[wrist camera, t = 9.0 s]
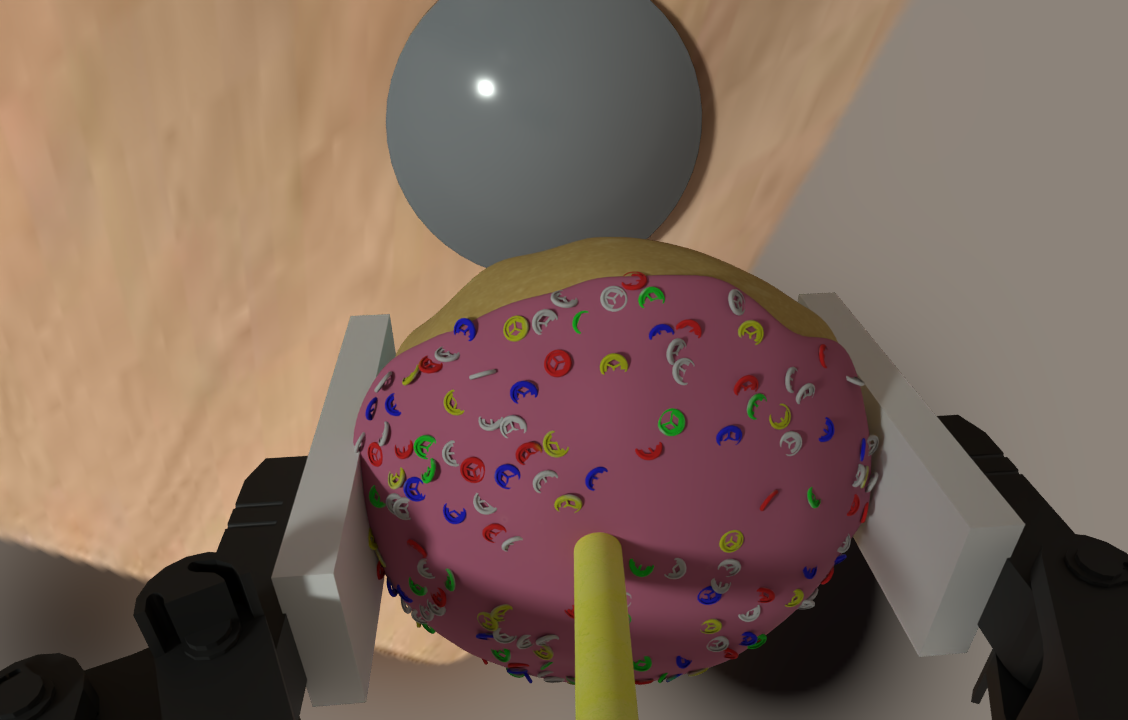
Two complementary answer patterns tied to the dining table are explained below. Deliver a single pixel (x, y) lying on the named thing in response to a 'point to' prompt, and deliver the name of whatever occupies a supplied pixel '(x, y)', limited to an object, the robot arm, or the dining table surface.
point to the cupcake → (613, 465)
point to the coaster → (542, 123)
